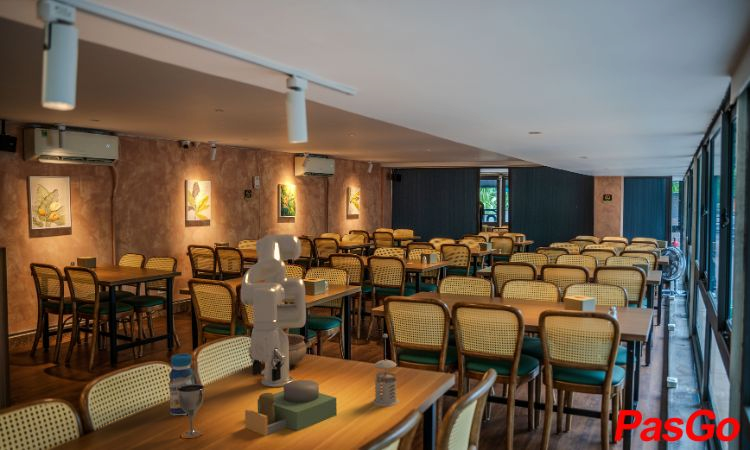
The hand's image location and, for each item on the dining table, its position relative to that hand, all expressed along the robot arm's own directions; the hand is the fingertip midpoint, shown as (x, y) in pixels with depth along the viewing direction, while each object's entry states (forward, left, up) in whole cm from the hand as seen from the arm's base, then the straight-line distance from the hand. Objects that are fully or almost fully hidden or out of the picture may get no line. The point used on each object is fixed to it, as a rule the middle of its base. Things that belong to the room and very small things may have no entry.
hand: (266, 377), depth 194 cm
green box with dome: (0, +8, -16) cm, 18 cm away
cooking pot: (-50, +51, -17) cm, 73 cm away
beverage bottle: (-34, -10, -17) cm, 39 cm away
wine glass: (-14, -19, -17) cm, 29 cm away
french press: (+15, +42, -17) cm, 47 cm away
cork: (0, 0, -17) cm, 17 cm away
